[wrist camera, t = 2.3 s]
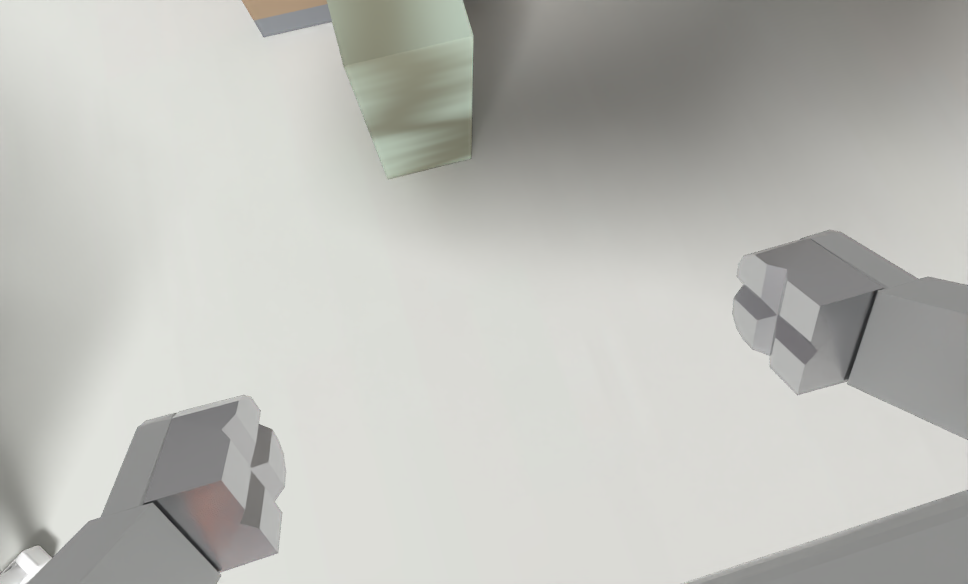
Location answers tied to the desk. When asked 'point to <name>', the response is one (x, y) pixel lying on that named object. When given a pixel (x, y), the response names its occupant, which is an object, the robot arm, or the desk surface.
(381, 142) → the green peg
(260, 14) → the keyhole dock
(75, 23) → the desk surface
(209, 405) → the robot arm
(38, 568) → the white perforated frame
